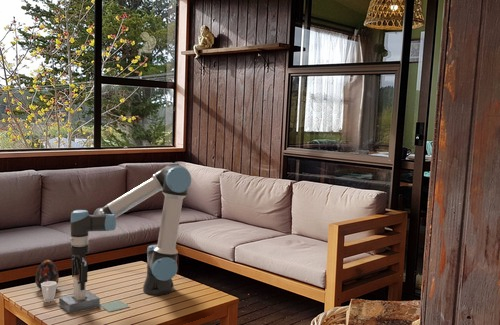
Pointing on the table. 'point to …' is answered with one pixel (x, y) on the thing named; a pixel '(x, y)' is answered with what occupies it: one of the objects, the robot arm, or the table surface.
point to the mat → (114, 306)
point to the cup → (48, 290)
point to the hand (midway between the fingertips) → (79, 295)
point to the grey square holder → (79, 302)
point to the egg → (46, 273)
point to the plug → (76, 280)
